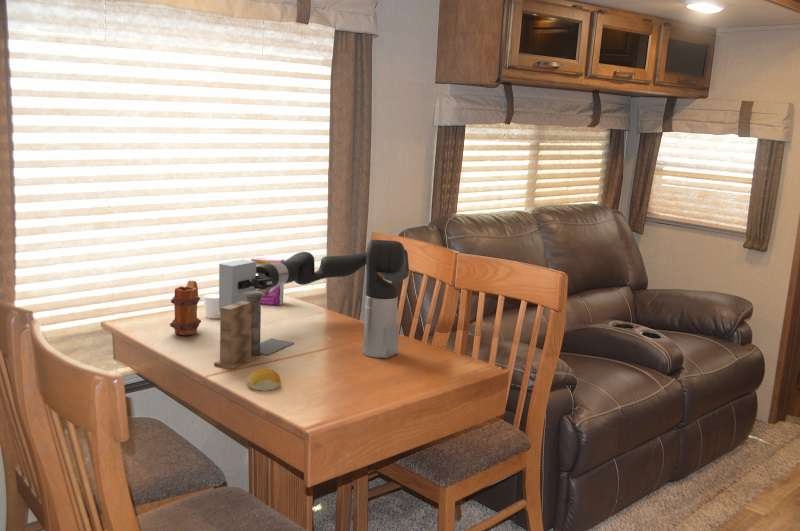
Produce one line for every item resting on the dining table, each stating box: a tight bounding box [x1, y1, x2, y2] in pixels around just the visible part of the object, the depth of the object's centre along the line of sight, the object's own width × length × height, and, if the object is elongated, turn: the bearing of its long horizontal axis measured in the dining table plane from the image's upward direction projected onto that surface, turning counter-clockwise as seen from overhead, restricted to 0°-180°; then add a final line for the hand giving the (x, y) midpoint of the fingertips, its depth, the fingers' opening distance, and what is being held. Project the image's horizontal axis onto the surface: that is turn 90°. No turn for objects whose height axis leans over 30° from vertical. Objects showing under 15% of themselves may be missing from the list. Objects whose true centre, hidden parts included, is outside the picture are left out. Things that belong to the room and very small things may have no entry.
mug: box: [169, 280, 202, 336], centre depth 229 cm, size 15×8×15 cm, turn 179°
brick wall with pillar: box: [213, 291, 263, 370], centre depth 205 cm, size 16×6×18 cm, turn 156°
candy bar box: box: [250, 256, 286, 307], centre depth 268 cm, size 11×5×16 cm, turn 82°
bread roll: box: [246, 368, 282, 391], centre depth 187 cm, size 8×9×4 cm
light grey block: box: [218, 258, 256, 311], centre depth 219 cm, size 5×10×14 cm, turn 149°
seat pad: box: [260, 338, 295, 356], centre depth 219 cm, size 14×8×1 cm, turn 157°
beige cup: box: [203, 293, 220, 319], centre depth 249 cm, size 7×7×7 cm
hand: (231, 284), depth 217 cm, fingers closed on light grey block, 5 cm apart
